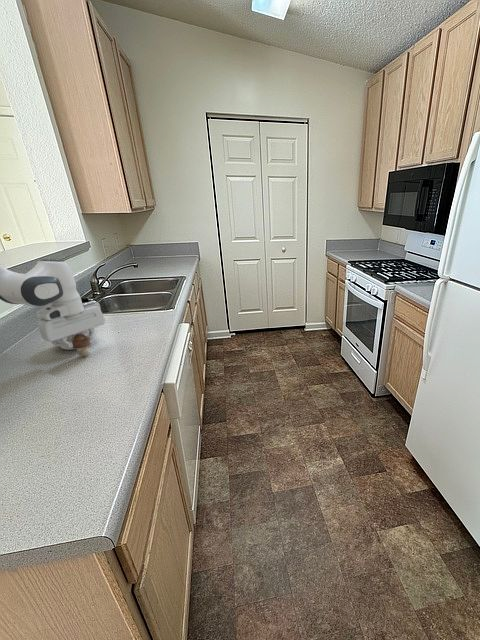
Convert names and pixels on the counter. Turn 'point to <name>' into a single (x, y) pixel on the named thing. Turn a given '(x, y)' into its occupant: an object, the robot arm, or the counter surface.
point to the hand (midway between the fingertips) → (80, 343)
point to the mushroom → (81, 344)
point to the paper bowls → (63, 345)
